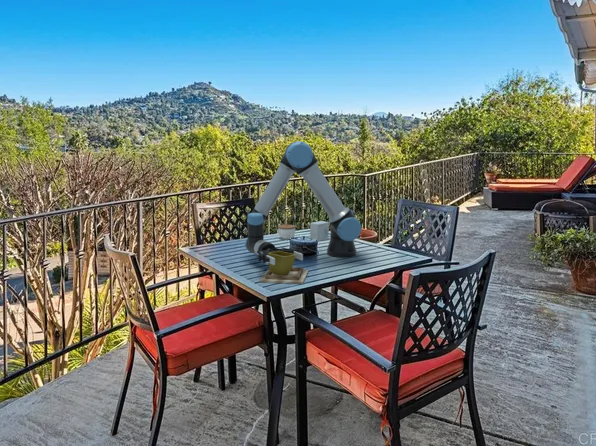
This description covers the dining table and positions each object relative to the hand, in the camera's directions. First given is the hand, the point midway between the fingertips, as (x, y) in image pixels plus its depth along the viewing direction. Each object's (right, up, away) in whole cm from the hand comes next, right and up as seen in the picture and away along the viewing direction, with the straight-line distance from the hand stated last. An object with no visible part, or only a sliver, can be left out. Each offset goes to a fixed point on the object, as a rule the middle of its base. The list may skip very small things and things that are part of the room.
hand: (288, 259), depth 188 cm
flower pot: (-4, -7, +4) cm, 9 cm away
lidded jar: (-3, +6, +84) cm, 84 cm away
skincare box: (+17, +5, +81) cm, 83 cm away
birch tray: (-2, -8, +4) cm, 9 cm away
